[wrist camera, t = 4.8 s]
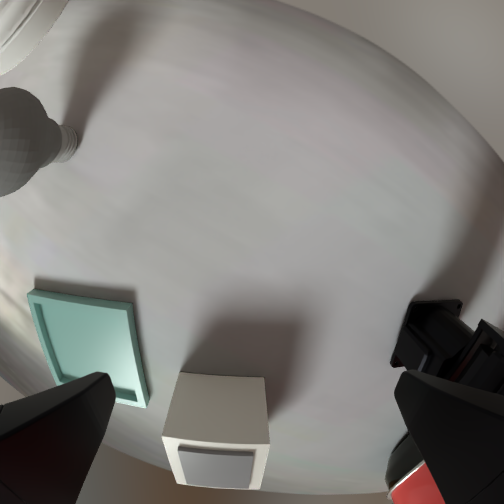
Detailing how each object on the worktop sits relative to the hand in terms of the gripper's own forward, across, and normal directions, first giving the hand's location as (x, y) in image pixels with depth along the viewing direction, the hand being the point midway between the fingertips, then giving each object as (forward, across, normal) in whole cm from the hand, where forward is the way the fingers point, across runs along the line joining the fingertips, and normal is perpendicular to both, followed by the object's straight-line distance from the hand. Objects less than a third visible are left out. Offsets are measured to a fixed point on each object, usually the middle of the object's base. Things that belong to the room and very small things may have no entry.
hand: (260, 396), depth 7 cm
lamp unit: (+12, -2, -14) cm, 18 cm away
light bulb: (+12, -14, +8) cm, 20 cm away
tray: (+12, -14, -8) cm, 20 cm away
